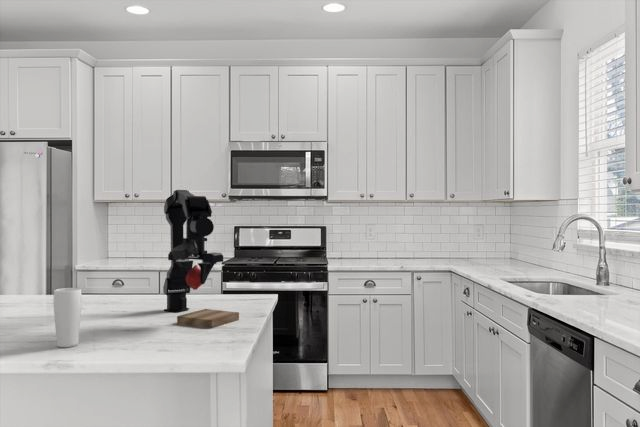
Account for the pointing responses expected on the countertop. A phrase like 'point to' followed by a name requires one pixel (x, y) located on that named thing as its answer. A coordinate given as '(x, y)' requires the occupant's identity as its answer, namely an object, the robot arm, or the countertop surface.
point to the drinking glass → (67, 316)
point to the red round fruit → (194, 278)
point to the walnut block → (208, 318)
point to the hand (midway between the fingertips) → (195, 283)
